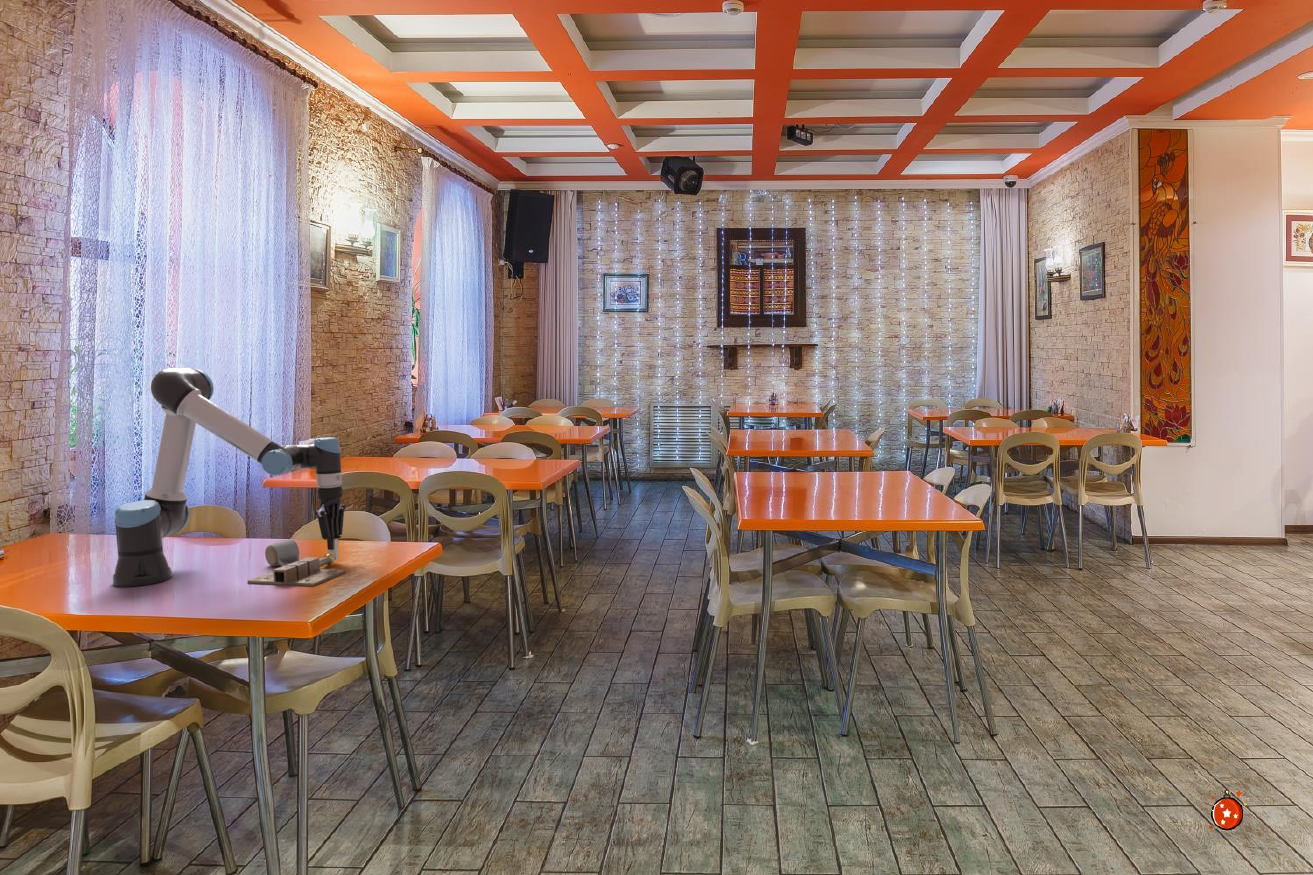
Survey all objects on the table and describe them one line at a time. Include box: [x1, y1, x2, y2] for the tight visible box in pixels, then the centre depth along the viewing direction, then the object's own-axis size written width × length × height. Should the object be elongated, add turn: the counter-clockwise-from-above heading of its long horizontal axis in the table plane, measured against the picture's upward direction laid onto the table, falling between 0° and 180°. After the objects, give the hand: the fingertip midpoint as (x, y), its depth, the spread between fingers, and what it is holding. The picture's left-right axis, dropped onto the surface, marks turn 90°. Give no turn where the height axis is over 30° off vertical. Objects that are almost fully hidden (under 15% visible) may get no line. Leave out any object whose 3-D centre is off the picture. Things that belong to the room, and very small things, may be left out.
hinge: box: [247, 556, 347, 587], centre depth 255 cm, size 16×22×4 cm
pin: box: [296, 553, 336, 569], centre depth 263 cm, size 17×3×3 cm, turn 167°
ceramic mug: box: [264, 538, 300, 567], centre depth 272 cm, size 11×8×8 cm
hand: (333, 558), depth 273 cm, fingers closed
